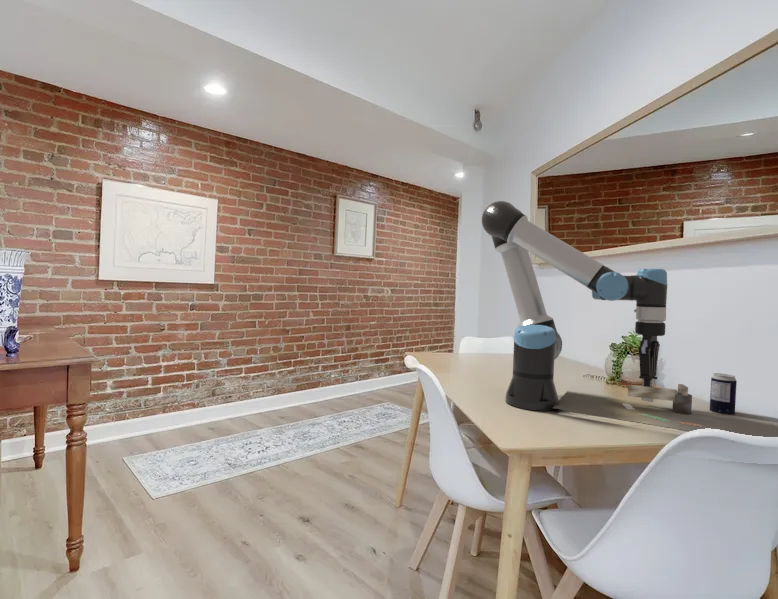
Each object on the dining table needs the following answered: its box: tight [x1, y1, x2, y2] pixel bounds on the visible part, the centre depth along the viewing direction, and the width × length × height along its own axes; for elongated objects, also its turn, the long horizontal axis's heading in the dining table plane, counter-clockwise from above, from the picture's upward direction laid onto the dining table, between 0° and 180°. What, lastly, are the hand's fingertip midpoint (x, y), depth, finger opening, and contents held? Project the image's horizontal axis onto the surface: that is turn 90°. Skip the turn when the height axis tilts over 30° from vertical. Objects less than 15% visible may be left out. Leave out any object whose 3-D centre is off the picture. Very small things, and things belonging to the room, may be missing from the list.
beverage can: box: [709, 373, 738, 416], centre depth 121 cm, size 6×6×12 cm
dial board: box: [613, 403, 703, 432], centre depth 117 cm, size 20×18×1 cm
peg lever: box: [618, 381, 693, 415], centre depth 121 cm, size 18×4×7 cm, turn 70°
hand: (647, 400), depth 125 cm, fingers closed
